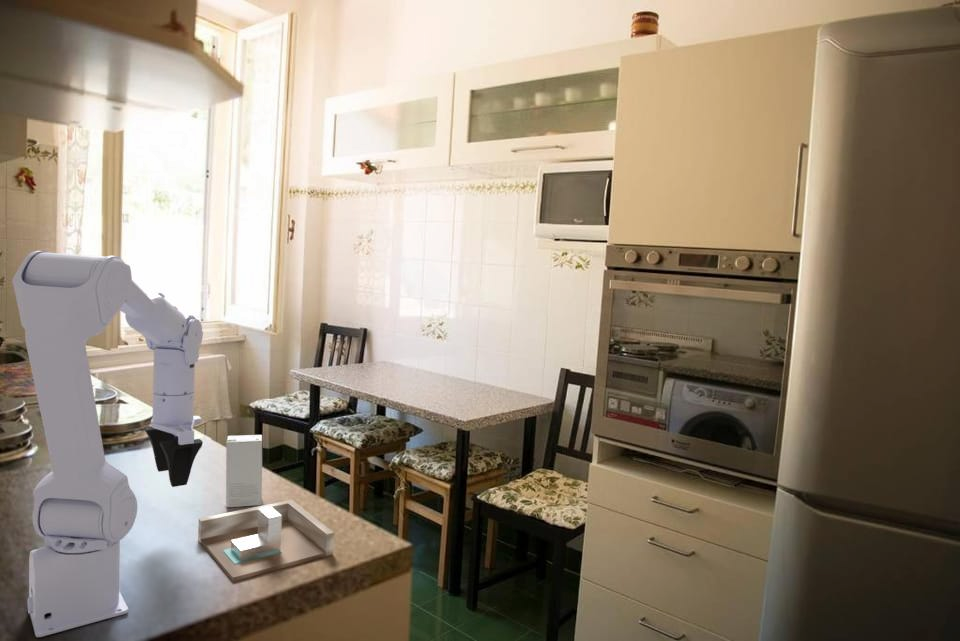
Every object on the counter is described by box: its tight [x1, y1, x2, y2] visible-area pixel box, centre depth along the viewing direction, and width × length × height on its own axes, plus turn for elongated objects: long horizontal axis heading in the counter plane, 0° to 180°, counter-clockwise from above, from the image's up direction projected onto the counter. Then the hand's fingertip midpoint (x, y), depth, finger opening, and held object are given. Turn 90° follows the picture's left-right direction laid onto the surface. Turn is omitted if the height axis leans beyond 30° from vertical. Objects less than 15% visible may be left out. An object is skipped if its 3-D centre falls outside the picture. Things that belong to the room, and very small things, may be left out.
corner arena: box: [197, 499, 335, 583], centre depth 99 cm, size 15×15×4 cm
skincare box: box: [225, 434, 263, 508], centre depth 115 cm, size 6×4×12 cm
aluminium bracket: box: [231, 507, 282, 561], centre depth 96 cm, size 4×6×6 cm, turn 131°
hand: (171, 477), depth 100 cm, fingers open, 7 cm apart
